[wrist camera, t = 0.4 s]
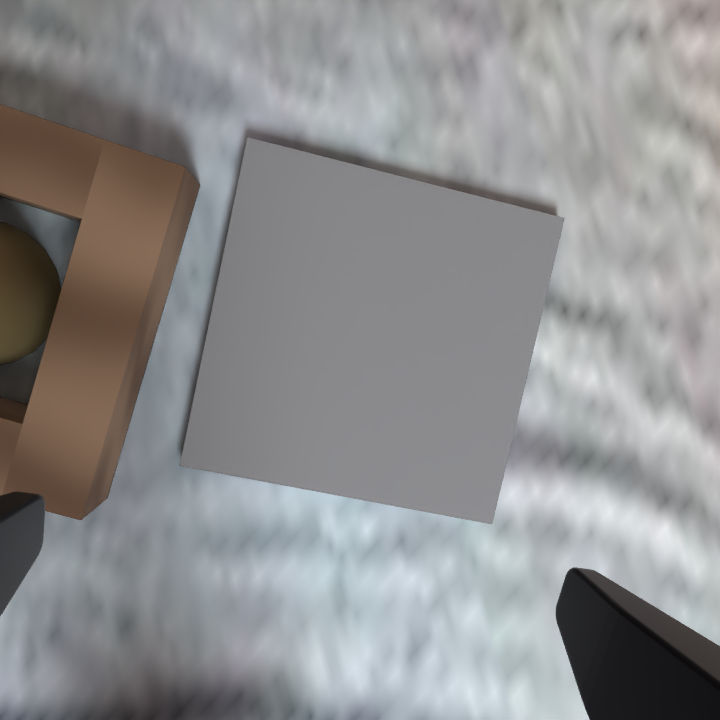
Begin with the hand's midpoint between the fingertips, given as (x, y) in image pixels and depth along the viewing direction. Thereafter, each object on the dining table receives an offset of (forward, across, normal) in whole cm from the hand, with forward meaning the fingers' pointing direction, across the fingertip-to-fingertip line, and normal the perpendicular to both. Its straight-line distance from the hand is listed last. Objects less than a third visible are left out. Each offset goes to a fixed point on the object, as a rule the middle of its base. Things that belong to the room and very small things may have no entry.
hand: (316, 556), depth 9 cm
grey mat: (+14, -2, -1) cm, 15 cm away
